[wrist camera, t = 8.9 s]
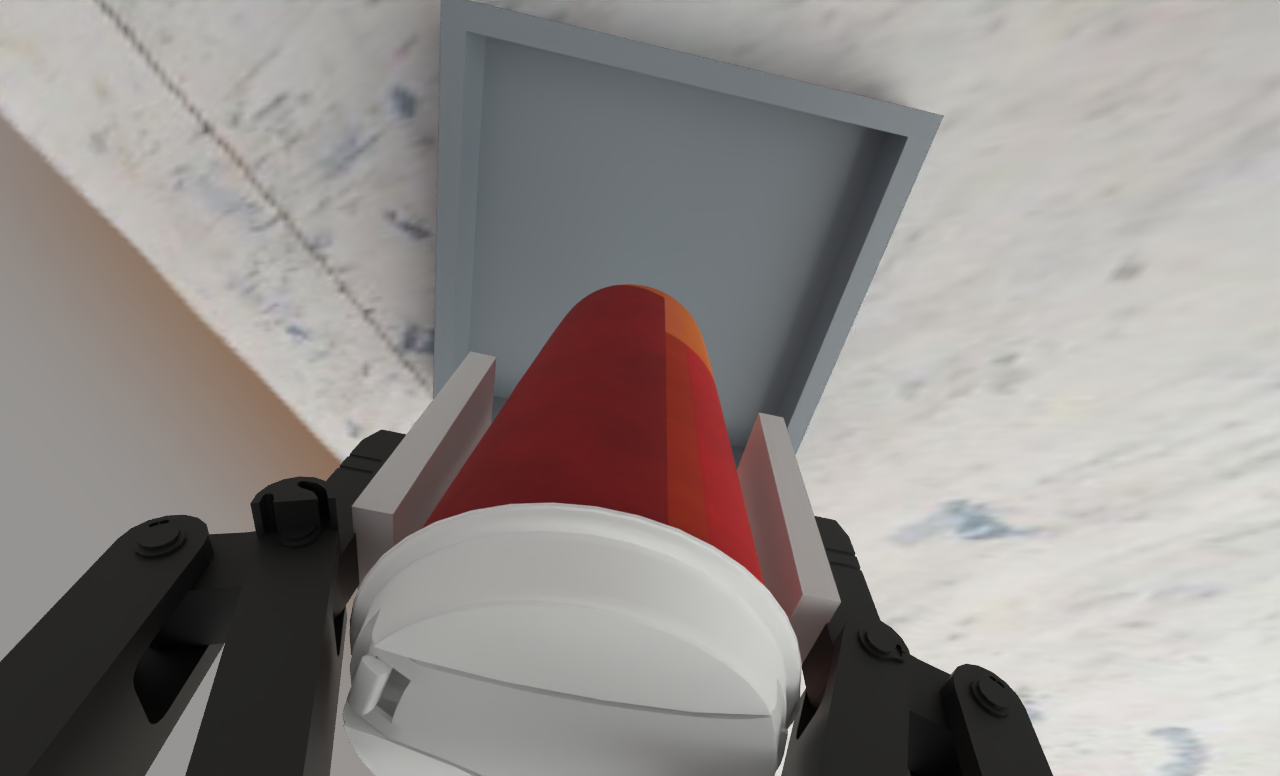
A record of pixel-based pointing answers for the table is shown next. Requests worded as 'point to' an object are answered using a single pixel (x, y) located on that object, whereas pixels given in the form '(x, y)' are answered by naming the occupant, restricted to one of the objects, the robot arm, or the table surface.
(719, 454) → the paper cup
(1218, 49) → the table surface
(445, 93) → the tray
